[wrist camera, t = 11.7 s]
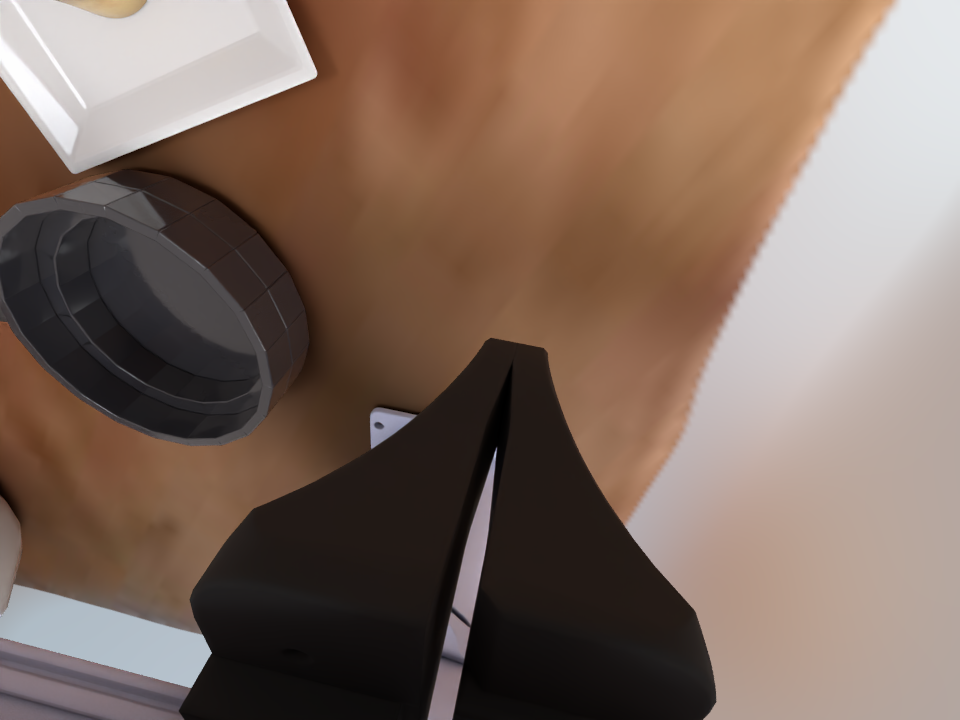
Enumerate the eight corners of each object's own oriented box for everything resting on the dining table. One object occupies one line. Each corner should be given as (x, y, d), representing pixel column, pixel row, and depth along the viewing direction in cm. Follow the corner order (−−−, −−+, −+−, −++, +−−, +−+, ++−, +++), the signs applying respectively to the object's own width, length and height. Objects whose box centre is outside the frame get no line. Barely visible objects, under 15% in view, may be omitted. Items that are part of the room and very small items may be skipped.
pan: (323, 413, 28) (288, 468, 24) (119, 369, 28) (59, 417, 25) (298, 193, 20) (242, 231, 17) (23, 145, 21) (-78, 172, 18)
